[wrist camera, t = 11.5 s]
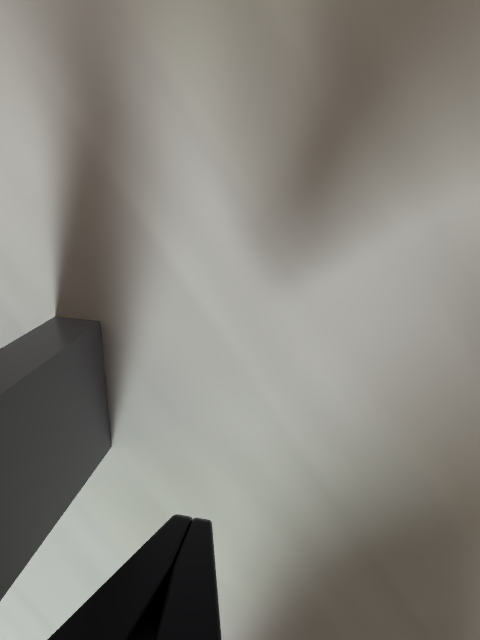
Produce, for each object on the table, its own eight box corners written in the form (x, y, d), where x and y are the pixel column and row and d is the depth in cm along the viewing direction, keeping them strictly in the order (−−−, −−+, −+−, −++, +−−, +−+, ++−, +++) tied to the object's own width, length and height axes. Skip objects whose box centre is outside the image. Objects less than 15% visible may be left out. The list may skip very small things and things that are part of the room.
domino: (100, 321, 13) (-163, 514, 6) (111, 446, 15) (-81, 713, 8) (55, 316, 14) (-251, 496, 6) (71, 440, 15) (-152, 692, 8)
